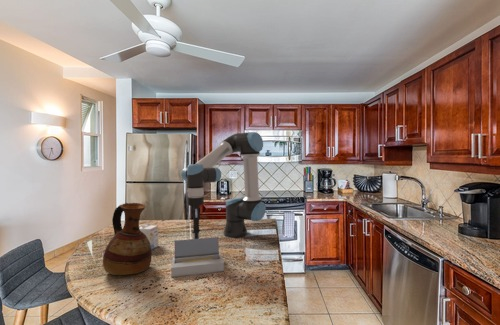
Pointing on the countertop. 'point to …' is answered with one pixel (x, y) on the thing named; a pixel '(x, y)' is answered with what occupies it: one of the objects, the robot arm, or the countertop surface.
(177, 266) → the open grey pill case
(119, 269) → the ceramic pitcher
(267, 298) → the countertop surface
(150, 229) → the ink box
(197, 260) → the yellow pill capsule
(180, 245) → the cover
